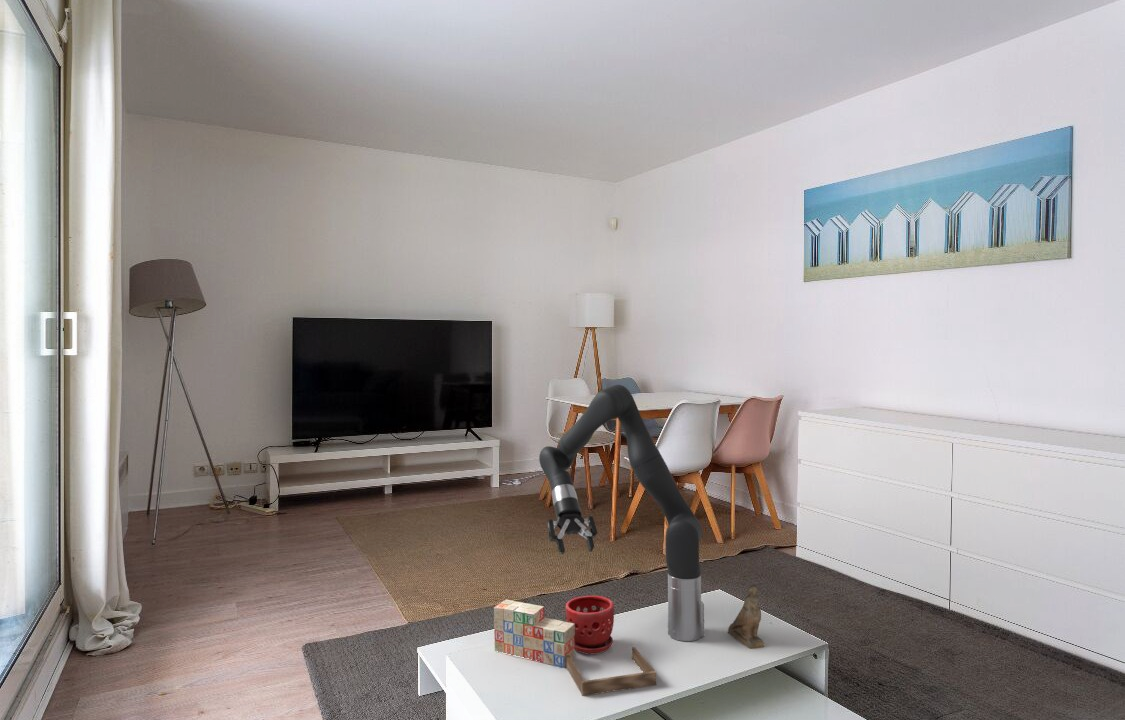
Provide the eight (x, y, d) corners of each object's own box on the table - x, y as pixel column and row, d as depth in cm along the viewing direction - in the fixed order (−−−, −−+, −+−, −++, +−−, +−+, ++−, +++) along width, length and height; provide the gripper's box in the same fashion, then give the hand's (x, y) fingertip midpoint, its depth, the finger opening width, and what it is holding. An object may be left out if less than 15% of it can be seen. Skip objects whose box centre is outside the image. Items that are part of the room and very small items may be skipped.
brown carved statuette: (764, 655, 179) (772, 595, 175) (745, 657, 178) (753, 597, 174) (742, 628, 190) (750, 572, 186) (725, 630, 189) (732, 573, 185)
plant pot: (595, 632, 188) (595, 591, 188) (623, 650, 177) (623, 605, 177) (556, 643, 181) (556, 600, 181) (583, 662, 170) (583, 616, 170)
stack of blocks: (575, 658, 173) (575, 612, 173) (564, 669, 167) (564, 620, 167) (506, 642, 183) (505, 598, 183) (493, 651, 177) (493, 606, 177)
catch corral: (634, 658, 173) (634, 646, 173) (656, 684, 159) (656, 672, 159) (566, 667, 168) (566, 655, 168) (582, 695, 154) (582, 682, 154)
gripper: (545, 497, 196) (555, 547, 185) (590, 494, 200) (603, 543, 189) (541, 511, 201) (551, 560, 191) (585, 508, 205) (597, 555, 194)
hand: (577, 551), depth 190 cm, fingers open, 8 cm apart
